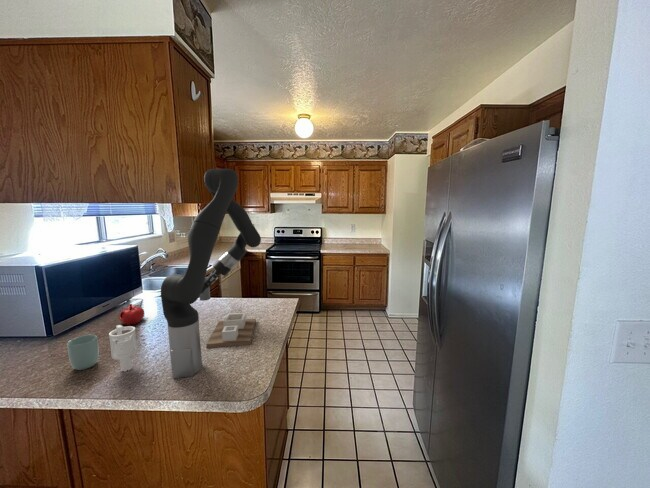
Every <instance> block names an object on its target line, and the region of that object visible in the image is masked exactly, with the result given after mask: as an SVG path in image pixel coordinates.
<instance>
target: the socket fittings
mask: <svg viewBox="0 0 650 488" xmlns="http://www.w3.org/2000/svg"><path fill="white" fill-rule="evenodd" d="M246 319H247V313H246V312H237V313H227V314H226V316H225V317H224V319H223V320H222V321H223V322H224V328H223V331H222V341H234V340H236V339H237V337H238V329H244V326H245V323H246Z"/></svg>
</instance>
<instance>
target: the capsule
mask: <svg viewBox="0 0 650 488" xmlns="http://www.w3.org/2000/svg"><path fill="white" fill-rule="evenodd" d="M207 278H208V276H205V280H204V283H205V281H206V279H207ZM208 279H209V278H208ZM206 284H207V285H209V284H208V283H206ZM210 290H211V289H210V286H209V287H208V288H206V289H205V290H204V291H203V292H202V293H201V294H200V296H199V301H200V302H201V301H203V302H204V301H209V300H211V291H210Z"/></svg>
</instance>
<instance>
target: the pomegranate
mask: <svg viewBox="0 0 650 488" xmlns="http://www.w3.org/2000/svg"><path fill="white" fill-rule="evenodd" d="M126 307H127V308H122V309H121V312H120V314H119V316H118V317H119V321H120V322H121V324H122V325H127V326H131V325H135V324H138V323H139V322H141V321H142V320H143V318H144V317H145V310H144V309H143V308H141V307H140V305H138V304H137V305H135V304H132V303H130V304H129V305H127V306H126Z"/></svg>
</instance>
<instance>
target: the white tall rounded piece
mask: <svg viewBox="0 0 650 488" xmlns="http://www.w3.org/2000/svg"><path fill="white" fill-rule="evenodd" d="M115 327H116V328H115V329H113V330H111V331H110V332H109V333H108V337H109V344H110V355H111V359H112V360H115V361H116V360H118V361H119V365H120V370H121V372H123V371H124V372H128V371H130V370H131V369H133V364H132V363H133V362H132V357H133V356H134V355H136V354H137V353H138V345H137V336H136V327H135V326H131V325H127V326H123V325H122V324H117V325H116V326H115ZM123 331H128V332H126V333H123ZM116 341H117V342H116ZM127 370H128V371H127Z"/></svg>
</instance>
